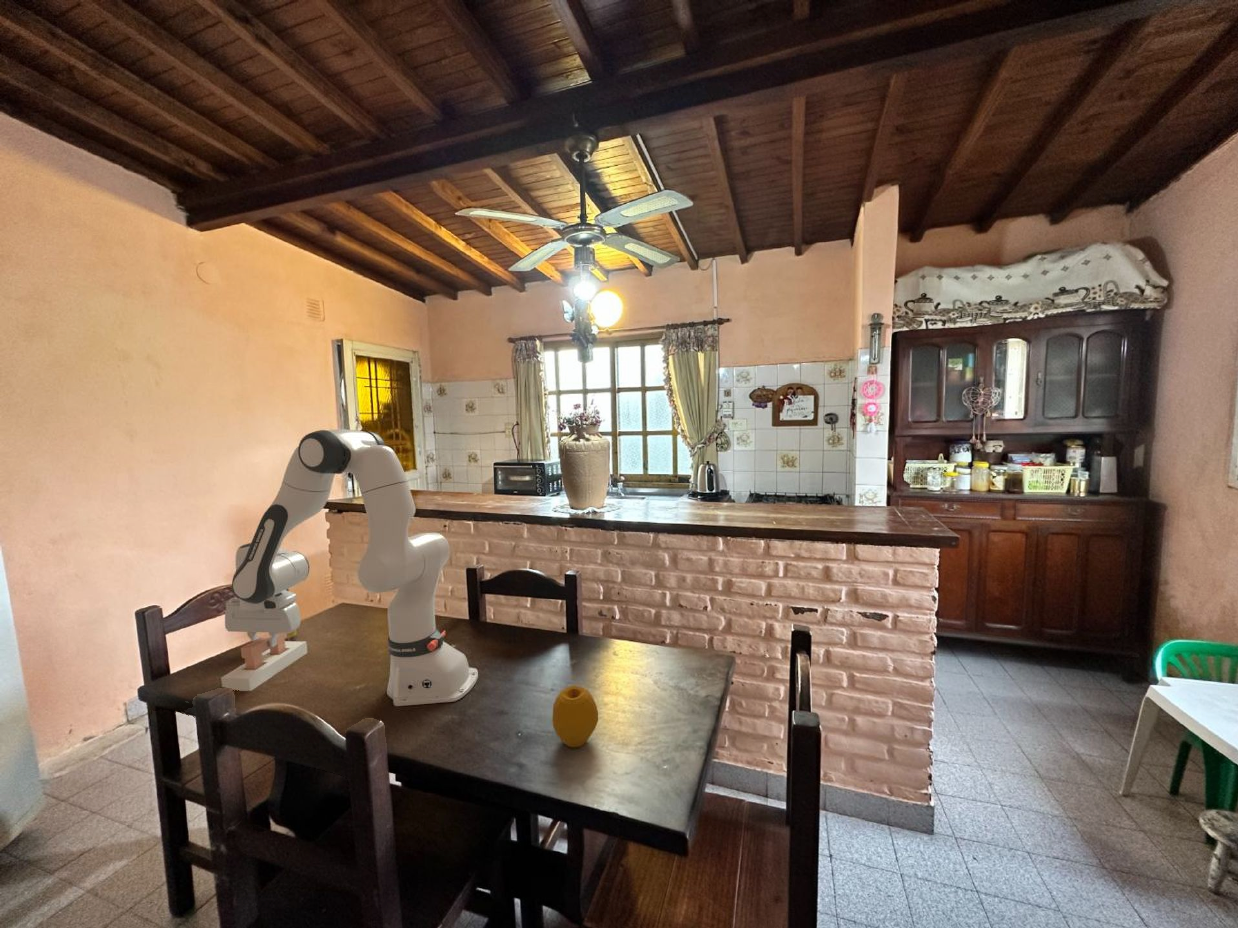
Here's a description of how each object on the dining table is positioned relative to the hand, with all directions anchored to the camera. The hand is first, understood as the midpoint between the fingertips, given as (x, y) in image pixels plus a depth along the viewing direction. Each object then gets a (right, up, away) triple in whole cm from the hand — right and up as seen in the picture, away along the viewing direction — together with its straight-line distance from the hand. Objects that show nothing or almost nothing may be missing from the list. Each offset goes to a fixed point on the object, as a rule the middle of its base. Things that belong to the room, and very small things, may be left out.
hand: (265, 645), depth 134 cm
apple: (+90, -8, -32) cm, 96 cm away
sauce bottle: (-7, -6, +18) cm, 21 cm away
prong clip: (0, -5, +1) cm, 5 cm away
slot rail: (0, -7, +1) cm, 7 cm away
